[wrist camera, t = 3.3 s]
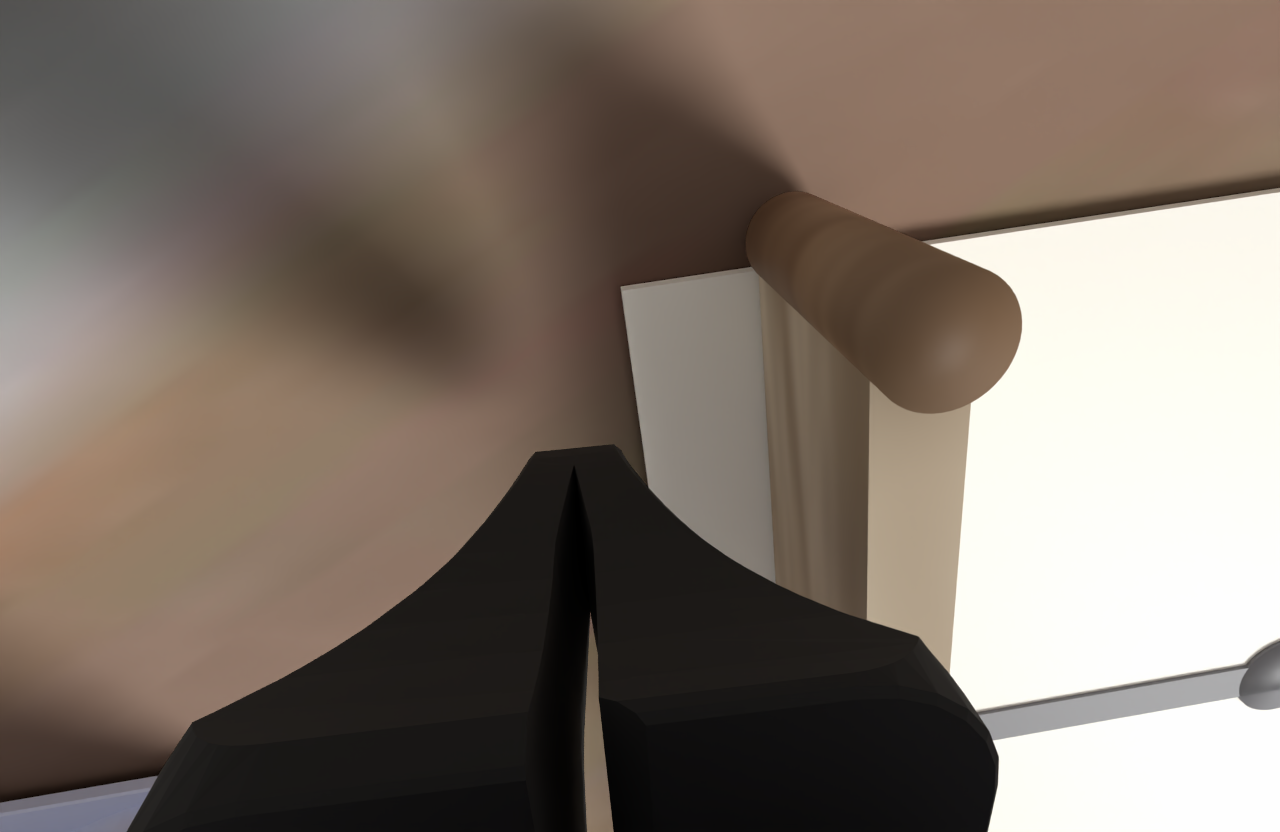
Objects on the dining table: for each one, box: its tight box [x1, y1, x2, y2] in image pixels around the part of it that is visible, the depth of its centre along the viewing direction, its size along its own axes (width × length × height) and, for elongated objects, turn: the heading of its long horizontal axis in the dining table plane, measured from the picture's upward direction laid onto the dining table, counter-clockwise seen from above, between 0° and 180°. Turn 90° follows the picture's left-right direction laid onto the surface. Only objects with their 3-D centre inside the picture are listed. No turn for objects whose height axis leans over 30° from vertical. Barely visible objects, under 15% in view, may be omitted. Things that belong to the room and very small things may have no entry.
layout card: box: [621, 188, 1280, 832], centre depth 18 cm, size 18×25×1 cm
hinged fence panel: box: [745, 191, 1022, 674], centre depth 12 cm, size 2×12×6 cm, turn 7°
